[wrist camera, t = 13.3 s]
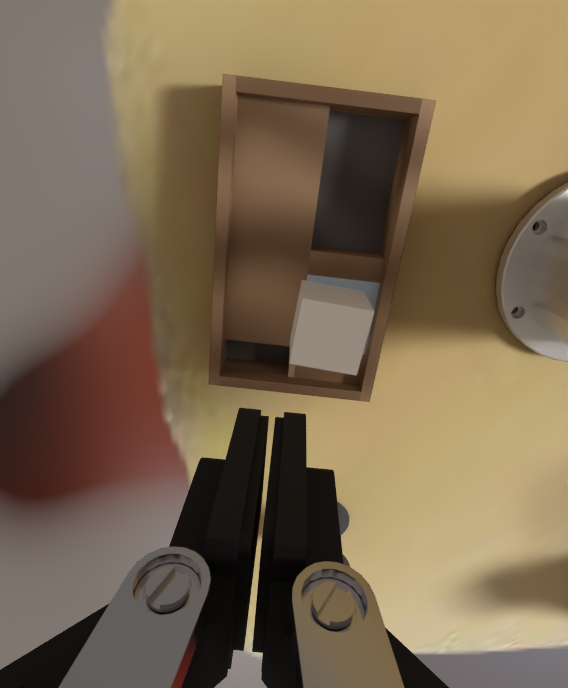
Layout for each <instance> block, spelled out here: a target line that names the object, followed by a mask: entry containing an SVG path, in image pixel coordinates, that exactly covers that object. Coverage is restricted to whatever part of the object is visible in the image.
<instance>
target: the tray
mask: <svg viewBox="0 0 568 688" xmlns="http://www.w3.org/2000/svg"><path fill="white" fill-rule="evenodd" d="M435 103H436V100H429V99H421V98H413V97H405V96H397V95H389V94H381V93H373V92H365V91H357V90H349V89H340V88H332V87H324V86H316V85H308V84H300V83H292V82H284V81H276V80H268V79H260V78H252V77H244V76H236V75H228V74H223V77H222V99H221V121H220V144H219V166H218V188H217V210H216V232H215V254H214V276H213V298H212V320H211V343H210V365H209V384H211V385H220V386H229V387H238V388H248V389H257V390H266V391H275V392H284V393H293V394H302V395H311V396H320V397H330V398H339V399H348V400H357V401H366V402H370V398H371V393H372V389H373V384H374V380H375V375H376V371H377V366H378V362H379V357H380V353H381V348H382V343H383V339H384V334H385V330H386V325H387V321H388V316H389V312H390V307H391V303H392V298H393V294H394V289H395V285H396V280H397V276H398V271H399V266H400V262H401V257H402V253H403V248H404V244H405V239H406V235H407V230H408V226H409V221H410V217H411V212H412V208H413V203H414V198H415V194H416V189H417V185H418V180H419V176H420V171H421V167H422V162H423V158H424V153H425V149H426V144H427V140H428V135H429V130H430V126H431V121H432V117H433V112H434V108H435ZM307 275H316V276H324V277H333V278H342V279H350V280H359V281H368V282H376V283H380V286H379V291H378V296H377V301H376V306H375V312H374V315H373V320H372V325H371V330H370V335H369V340H368V345H367V349H366V354H365V355H362V358H361V362H360V365H359V369H358V373H357V375H351V374H345V373H340V372H334V371H328V370H322V369H317V368H311V367H305V366H299V365H294V364H289V356H290V336H291V331H292V326H293V321H294V316H295V311H296V306H297V301H298V296H299V291H300V286H301V281H302V280H305V281H307Z"/></svg>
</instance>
